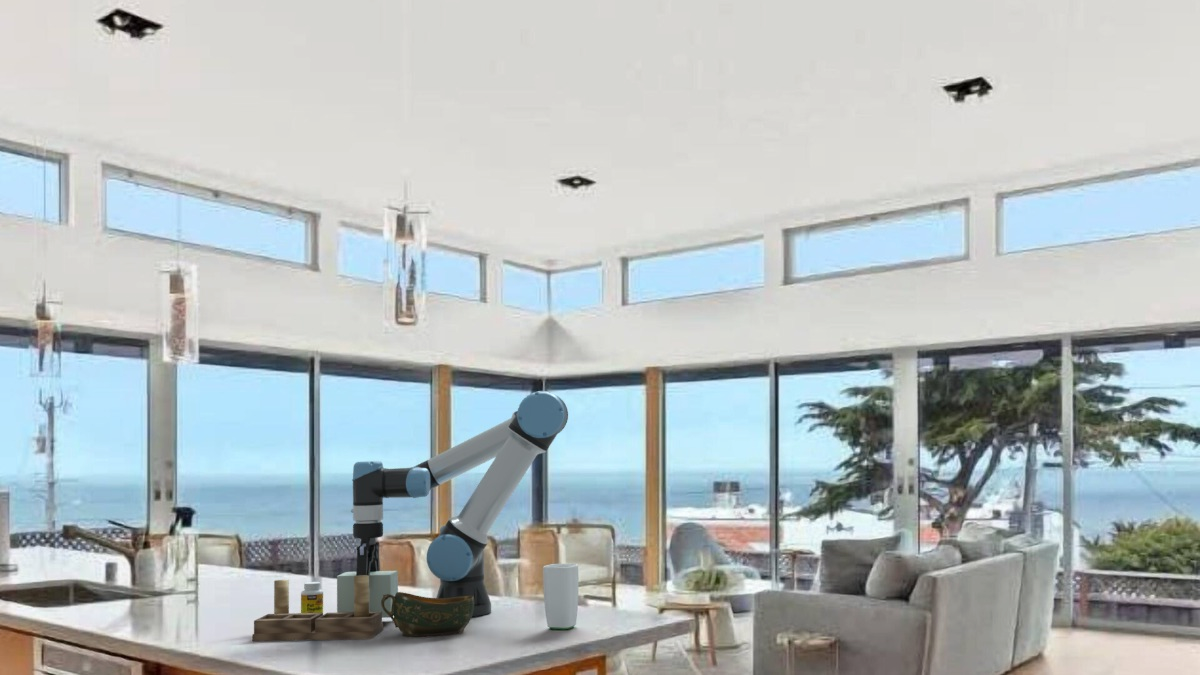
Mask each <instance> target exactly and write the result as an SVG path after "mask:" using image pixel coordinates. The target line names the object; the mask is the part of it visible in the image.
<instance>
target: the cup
mask: <svg viewBox="0 0 1200 675" xmlns="http://www.w3.org/2000/svg"><path fill="white" fill-rule="evenodd" d="M542 584H543V586H542V587H543V588H542V589H543V598H544V599H543V602H544V611H545V619H546V624H547V627H548V628H549V629H552V630H570V629H572V628H574V627H575V626H576V625H577V620H578V619H577V618H578V608H579V607H578V606H579V564H577V563H551V564H547V565H544V566H543V567H542Z"/></svg>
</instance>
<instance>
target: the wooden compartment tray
mask: <svg viewBox="0 0 1200 675" xmlns="http://www.w3.org/2000/svg"><path fill="white" fill-rule="evenodd" d="M383 630H384V623H383V618H382V612H369V576H368V575H359V576H354V612H338V613H337V612H325V613H324V612H323V613H301V612H300V613H297V612H296V613H294V612H293V613H289V614H274V613H268V614H265V615H263V616H261V617H258V618H257V619H255V620H253V634H252V642H271V641H272V642H273V641H277V642H278V641H279V642H280V641H315V640H319V641H320V640H321V641H322V640H324V641H325V640H328V641H329V640H365V639H366V640H367V639H369V640H370V639H371V638H372V639H373V638H374V637H375V636H377V635H378V634H379V633H381V632H382V631H383Z"/></svg>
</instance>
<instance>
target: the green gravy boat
mask: <svg viewBox="0 0 1200 675" xmlns="http://www.w3.org/2000/svg"><path fill="white" fill-rule="evenodd" d="M389 597H390V598H392V600H393V602H392V610H391V612H389V611H388V610H387V609H386V608H385V605H384V602H385V600H386V599H388V598H389ZM381 606H382V608H383V610H384V611H385V612H386V613H387V614H388V615H389V616H390V617H391V618H390V619H391V620H392V622H393V624H394V627H395V628H396V629H398V630H399V631H400V633H401V634H402V637H404V638H405V637H406V638H428V637H429V638H430V637H431V638H432V637H442V636H451V635H456V634H462V633H464V630H465V628H466V627H467V626H468V624H469V623H470V621H471V619H472V617H473V616H472V614H473V610H474V596H460V597H452V598H436V597H426V596H421V595H415V594H412V593H408V592H401V591H400V592H399V591H398V592H397V593H396V595H395V596H393V595H391V594H386V595H383V598H382V600H381ZM393 615H394V616H393Z"/></svg>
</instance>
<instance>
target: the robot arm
mask: <svg viewBox="0 0 1200 675" xmlns="http://www.w3.org/2000/svg"><path fill="white" fill-rule="evenodd" d="M568 420H569V411H568V407H567V405H566V403H565V401H564V400H563V399H561V398H560V397H559V396H558V395H556V394H555V393H552V392H551V391H547V390H538V391H534V392H531V393H530V394H528V395H526V397H524V398H523V399H522V401H521V402H520V404H519V405H518V408H517V410H516V411H514V412H512V416H511V418H509V419H506V420H504V421H503V422H501V423H499V424H497V425H494V426H493V427H490V428H489V429H487V430H484V431H483V432H481V433H478V434H477V435H474V436H473V437H471V438H468V439H467V440H464V441H463V442H461V443H458V444H457V445H454V446H453V447H451V448H448V449H447V450H445V451H443V452H440V453H439V454H437V455H435V456H432V457H431V458H429V459H427V460H425V461H422V462H421V463H419V464H417V465H415V466H413V467H412V466H411V467H400V468H385V467H384V465H383V462H382V460H381V461H379V460H376V461H375V460H374V461H370V460H369V461H367V460H366V461H357V462H355V463H354V464H353V470H352V471H353V473H352V479H351V481H352V500H353V501H352V507H353V508H352V509H351V510H350V512H351V513H353V514H352V519H353V521H354V523H353V524H352V537H353V538H355V539H360V545H359V546H357V547H356V571H355V572H356V576H359V575H368V576H369V575H370V572H375V571H381V569H380V568H381V567H380V565H381V564H380V551H379V550H380V542H379V541H376V538H377V539H378V538H382V537H383V535H384V523H383V522H382V521H383V520H384V502H383V501H384V499H389V498H392V499H397V498H400V499H401V498H402V499H403V498H413V499H416V498H418V499H419V498H424V497H427V496H429V494H430V491H431V490H433V489H435V488H437V487H439V486H440V485H442V484H444V483H447V482H448V481H452V480H453V479H454V478H457V477H458V476H460V475H463V474H464V473H467V472H470V470H473V469H475V468H477V467H479V466H480V465H483V464H485V463H486V462H489V461H491V460H493V459H494V460H493V461H492V463H491V464H490V466H489V468H488V469H487V470H486V472H485V473H484V475H483V477H482V478H481V479H480V481H479V483H478V484H477V486H476V487H475V489H474V490H473V492H472V494H471V495H470V496H469V499H468V500H467V502H466V503H465V505H464V506H463V508H462V510H460V513H459V515H457V516H452V517H449V519H447V520H448V521H447V522H446V523H445V525H443V526H442V525H441V527H440V528H439V534H438V536H437V537H435V538H434V539H433V540H432V541H431V542H430V544H429V546H428V549H427V551H426V564H427V567H428V569H429V571H430V572H431V574H432V575H434V577H436V578H438V579H439V581H440V582H439V589H438V591H437V594H436V597H435V598H452V597H460V596H474V610H473V614H472V617H477V616H478V617H479V616H483V615H488V614H491V612H492V602H491V599H490V596H489V593H488V590H487V587H486V584H485V554H484V552H485V551H484V550H485V549H486V547H487V545H488V544H489V540H488V539H489V538H488V532H489V531H490V529H491V528H492V526H493V525H494V523H495V521H496V520H497V518H498V517H499V515H500V514H501V512H502V511H503V509H504V507H505V506H506V504H507V502H508V501H509V500H510V498H511V496H512V495H513V493H514V491H515V490H516V489H517V487H518V486H519V484H520V483H521V480H522V479H523V478H524V476H525V475H526V473H527V471H528V470H529V468H530V466H531V465H532V464H533V462H534V460H535V459H536V457H537V456H538V455H541V454H544V453H546V452H547V451H548V450H549V448H550V447H551V444H552V443H553V442H554V440H555V439H556V437H557V435H558V434H560V433H561V432H562V431H564V429H565V428H566V425H567V422H568ZM369 612H370V588H369Z"/></svg>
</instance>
